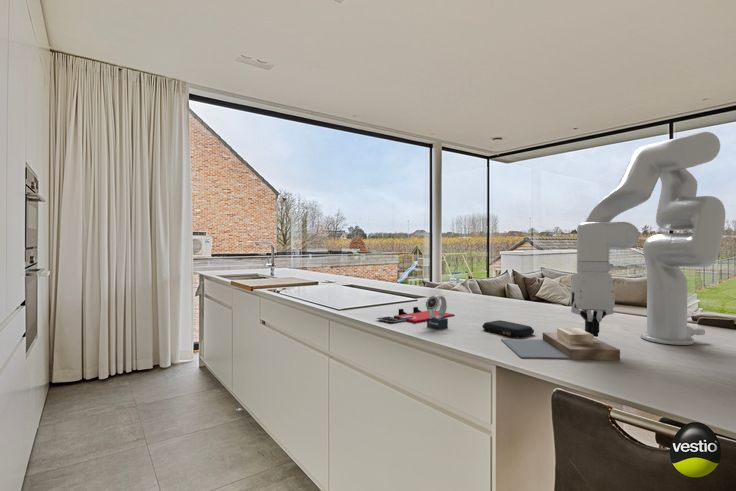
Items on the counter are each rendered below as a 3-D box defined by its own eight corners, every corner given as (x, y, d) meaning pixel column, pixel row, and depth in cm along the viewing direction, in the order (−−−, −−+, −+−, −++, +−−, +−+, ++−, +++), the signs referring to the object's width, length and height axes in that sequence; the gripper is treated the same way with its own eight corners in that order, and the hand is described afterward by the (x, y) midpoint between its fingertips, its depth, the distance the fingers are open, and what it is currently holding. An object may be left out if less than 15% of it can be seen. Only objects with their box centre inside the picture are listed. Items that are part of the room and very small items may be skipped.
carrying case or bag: (477, 331, 130) (515, 340, 117) (477, 322, 130) (515, 330, 117) (498, 327, 135) (536, 336, 123) (498, 318, 135) (536, 326, 123)
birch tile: (579, 336, 110) (579, 328, 110) (593, 344, 102) (593, 334, 102) (557, 336, 110) (557, 327, 110) (569, 344, 102) (569, 334, 102)
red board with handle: (372, 320, 147) (400, 327, 136) (372, 312, 147) (400, 319, 136) (426, 312, 167) (454, 318, 155) (426, 305, 167) (454, 311, 155)
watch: (423, 327, 134) (423, 295, 134) (438, 324, 139) (438, 293, 139) (436, 330, 129) (436, 297, 129) (451, 327, 135) (451, 295, 135)
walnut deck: (584, 341, 115) (584, 333, 115) (620, 359, 97) (620, 349, 97) (542, 340, 115) (542, 332, 115) (570, 359, 97) (570, 349, 97)
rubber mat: (542, 340, 115) (542, 339, 115) (570, 359, 97) (570, 357, 97) (501, 340, 116) (501, 339, 116) (520, 358, 98) (520, 356, 98)
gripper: (613, 267, 109) (612, 332, 109) (558, 266, 110) (557, 331, 110) (629, 269, 101) (629, 339, 101) (570, 268, 102) (570, 338, 102)
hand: (592, 335), depth 106 cm, fingers closed
